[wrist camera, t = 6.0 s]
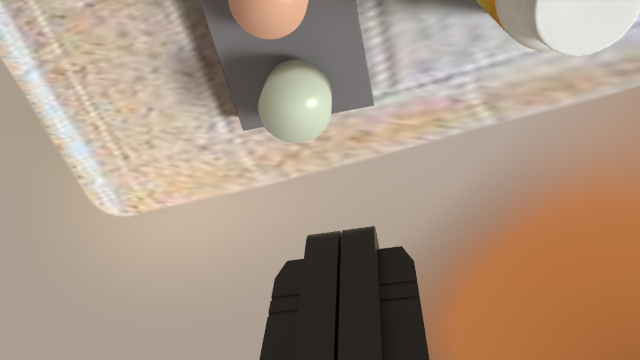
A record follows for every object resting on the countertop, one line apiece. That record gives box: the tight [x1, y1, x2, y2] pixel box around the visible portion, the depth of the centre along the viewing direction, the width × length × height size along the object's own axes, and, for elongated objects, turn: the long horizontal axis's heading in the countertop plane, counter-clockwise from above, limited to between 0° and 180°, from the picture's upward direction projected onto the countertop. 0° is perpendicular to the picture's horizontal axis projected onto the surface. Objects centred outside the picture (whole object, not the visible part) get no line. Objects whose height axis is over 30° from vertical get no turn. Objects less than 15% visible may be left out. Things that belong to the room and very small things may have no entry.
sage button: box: [258, 60, 332, 143], centre depth 27 cm, size 4×4×2 cm
